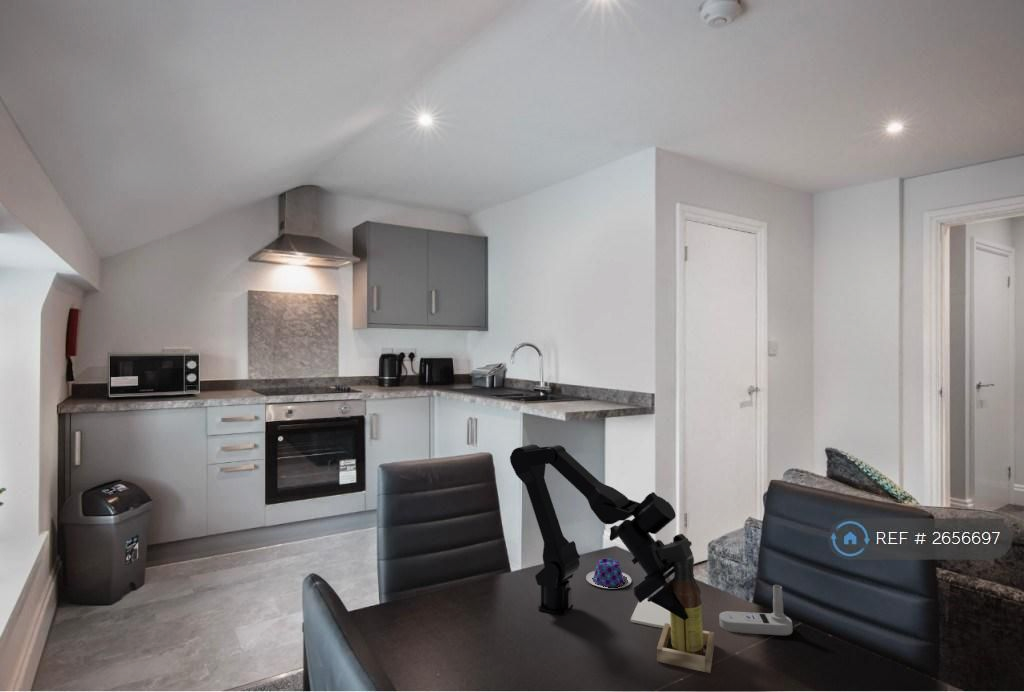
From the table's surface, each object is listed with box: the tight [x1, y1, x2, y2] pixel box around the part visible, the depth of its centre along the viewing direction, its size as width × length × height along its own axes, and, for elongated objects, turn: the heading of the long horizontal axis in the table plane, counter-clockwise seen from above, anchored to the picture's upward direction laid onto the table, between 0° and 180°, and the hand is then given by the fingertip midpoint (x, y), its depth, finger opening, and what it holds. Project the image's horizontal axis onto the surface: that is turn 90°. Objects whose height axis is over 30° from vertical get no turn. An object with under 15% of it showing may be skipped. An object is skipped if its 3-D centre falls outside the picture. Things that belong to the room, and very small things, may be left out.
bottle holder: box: [656, 623, 715, 674], centre depth 112 cm, size 10×11×2 cm
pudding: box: [585, 557, 633, 589], centre depth 147 cm, size 12×12×5 cm
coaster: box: [630, 597, 671, 629], centre depth 128 cm, size 12×12×1 cm
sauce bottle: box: [670, 555, 704, 656], centre depth 112 cm, size 6×6×20 cm
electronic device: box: [718, 584, 794, 636], centre depth 122 cm, size 5×10×15 cm
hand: (692, 612), depth 111 cm, fingers closed on sauce bottle, 6 cm apart
